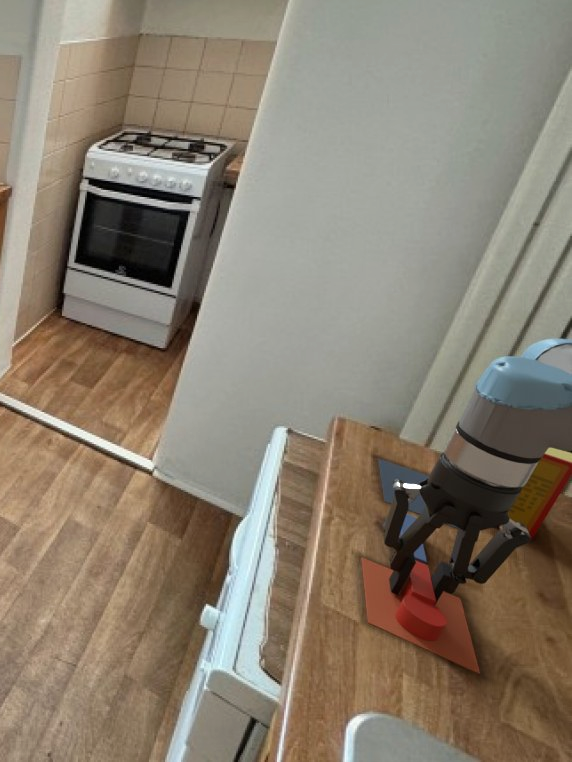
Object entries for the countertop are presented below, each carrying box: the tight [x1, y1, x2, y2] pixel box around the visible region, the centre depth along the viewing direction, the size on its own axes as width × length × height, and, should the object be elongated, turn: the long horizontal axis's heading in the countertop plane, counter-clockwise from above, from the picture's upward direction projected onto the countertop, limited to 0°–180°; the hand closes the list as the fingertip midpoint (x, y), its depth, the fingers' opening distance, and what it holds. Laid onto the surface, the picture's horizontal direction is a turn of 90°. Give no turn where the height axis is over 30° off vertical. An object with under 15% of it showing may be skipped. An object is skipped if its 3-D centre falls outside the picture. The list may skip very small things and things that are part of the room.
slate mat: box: [377, 458, 458, 529], centre depth 105 cm, size 10×13×1 cm
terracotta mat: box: [361, 557, 481, 675], centre depth 84 cm, size 11×13×1 cm
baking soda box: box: [498, 448, 572, 540], centre depth 98 cm, size 10×6×16 cm
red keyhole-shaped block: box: [395, 560, 447, 641], centre depth 84 cm, size 11×4×4 cm, turn 143°
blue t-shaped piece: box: [382, 513, 428, 565], centre depth 93 cm, size 11×4×4 cm, turn 143°
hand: (410, 593), depth 86 cm, fingers open, 3 cm apart
